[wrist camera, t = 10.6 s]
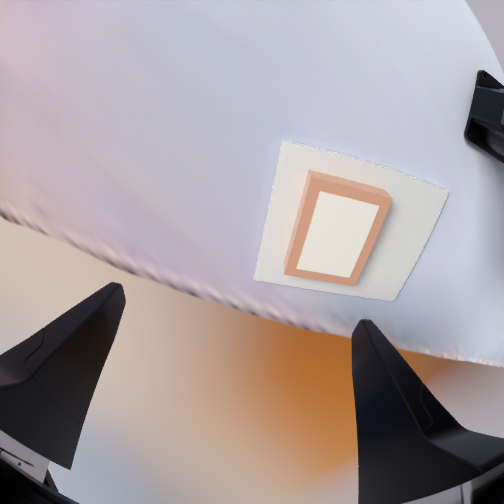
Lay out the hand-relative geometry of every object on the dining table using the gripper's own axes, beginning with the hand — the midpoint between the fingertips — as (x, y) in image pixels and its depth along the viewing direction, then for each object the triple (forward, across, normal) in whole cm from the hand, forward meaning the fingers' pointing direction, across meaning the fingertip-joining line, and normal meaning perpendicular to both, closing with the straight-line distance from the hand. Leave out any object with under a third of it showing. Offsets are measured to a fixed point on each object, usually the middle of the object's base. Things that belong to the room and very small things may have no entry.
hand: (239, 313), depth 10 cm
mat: (+12, -8, +2) cm, 15 cm away
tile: (+11, -9, +2) cm, 14 cm away
